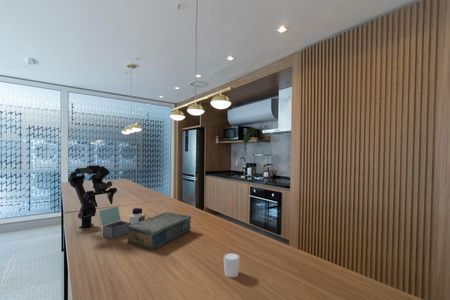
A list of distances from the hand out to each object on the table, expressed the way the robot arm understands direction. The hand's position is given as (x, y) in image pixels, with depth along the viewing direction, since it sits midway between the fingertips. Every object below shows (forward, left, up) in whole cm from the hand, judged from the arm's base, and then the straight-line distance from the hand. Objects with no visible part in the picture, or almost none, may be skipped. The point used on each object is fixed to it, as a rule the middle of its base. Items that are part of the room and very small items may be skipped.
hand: (104, 205), depth 134 cm
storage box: (+4, +9, -17) cm, 19 cm away
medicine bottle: (-10, +17, -17) cm, 26 cm away
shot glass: (+58, +68, -17) cm, 91 cm away
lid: (0, +4, -6) cm, 7 cm away
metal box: (+12, +35, -17) cm, 41 cm away
